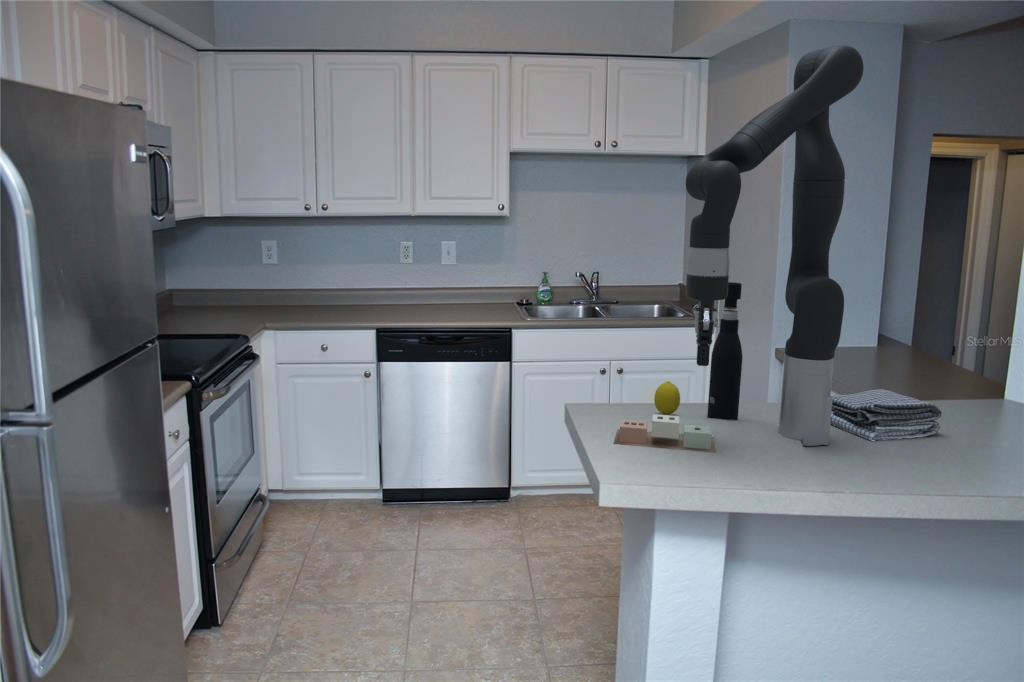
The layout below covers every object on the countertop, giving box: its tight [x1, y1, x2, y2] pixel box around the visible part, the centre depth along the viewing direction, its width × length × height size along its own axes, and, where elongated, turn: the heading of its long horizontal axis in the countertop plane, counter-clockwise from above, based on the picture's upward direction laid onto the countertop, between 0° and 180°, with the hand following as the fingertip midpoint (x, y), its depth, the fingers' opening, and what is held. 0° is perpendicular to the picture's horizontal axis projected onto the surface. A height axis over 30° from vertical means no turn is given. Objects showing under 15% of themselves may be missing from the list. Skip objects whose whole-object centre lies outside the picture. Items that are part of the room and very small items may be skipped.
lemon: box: [653, 380, 681, 416], centre depth 175 cm, size 6×6×8 cm
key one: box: [683, 424, 713, 449], centre depth 152 cm, size 5×5×3 cm
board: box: [612, 428, 717, 453], centre depth 155 cm, size 19×10×1 cm, turn 78°
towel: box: [830, 388, 942, 441], centre depth 170 cm, size 15×18×8 cm
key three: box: [619, 419, 648, 444], centre depth 154 cm, size 5×5×3 cm
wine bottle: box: [706, 281, 743, 421], centre depth 171 cm, size 6×6×30 cm
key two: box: [651, 413, 680, 439], centre depth 153 cm, size 5×5×3 cm
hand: (702, 364), depth 150 cm, fingers closed
